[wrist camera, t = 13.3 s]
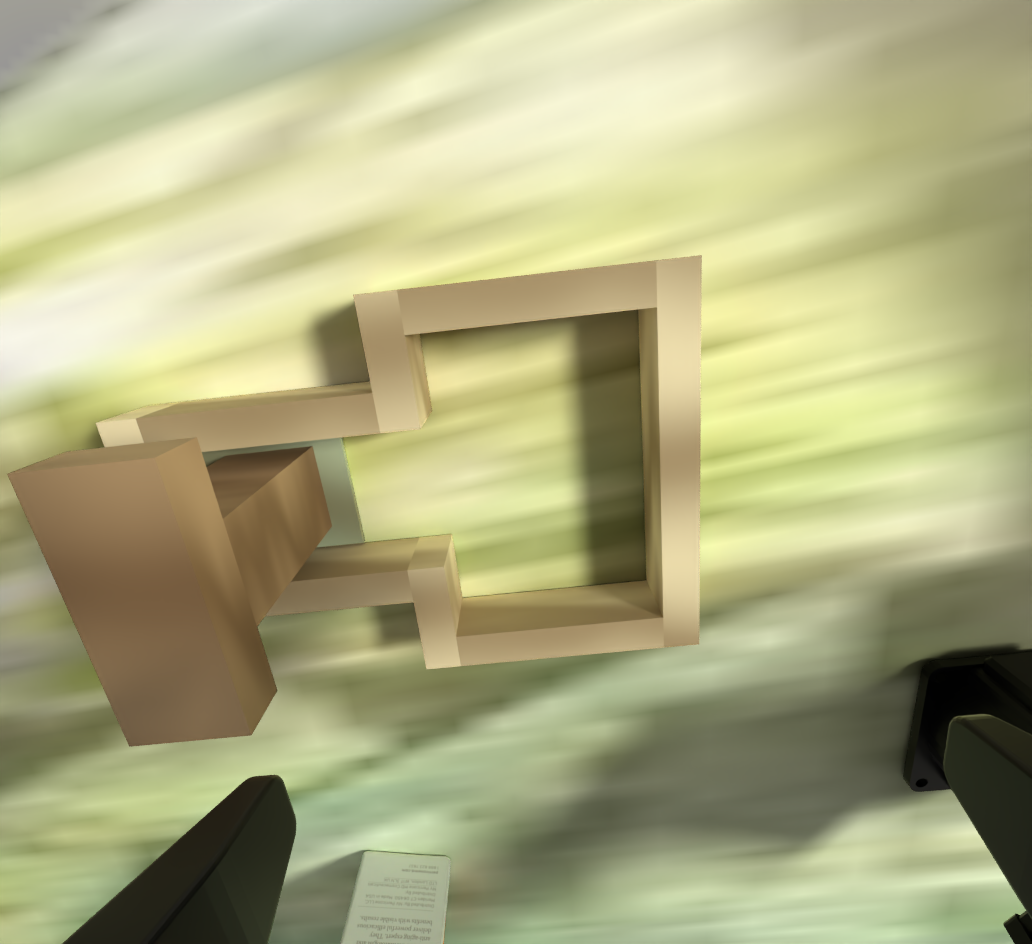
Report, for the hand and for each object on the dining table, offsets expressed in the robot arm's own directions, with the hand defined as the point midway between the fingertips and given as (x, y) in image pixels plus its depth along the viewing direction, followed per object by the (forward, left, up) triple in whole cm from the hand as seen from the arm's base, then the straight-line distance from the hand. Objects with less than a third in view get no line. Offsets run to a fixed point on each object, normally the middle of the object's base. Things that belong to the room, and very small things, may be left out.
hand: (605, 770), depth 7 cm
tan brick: (0, +9, -12) cm, 15 cm away
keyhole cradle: (0, +5, -12) cm, 13 cm away
